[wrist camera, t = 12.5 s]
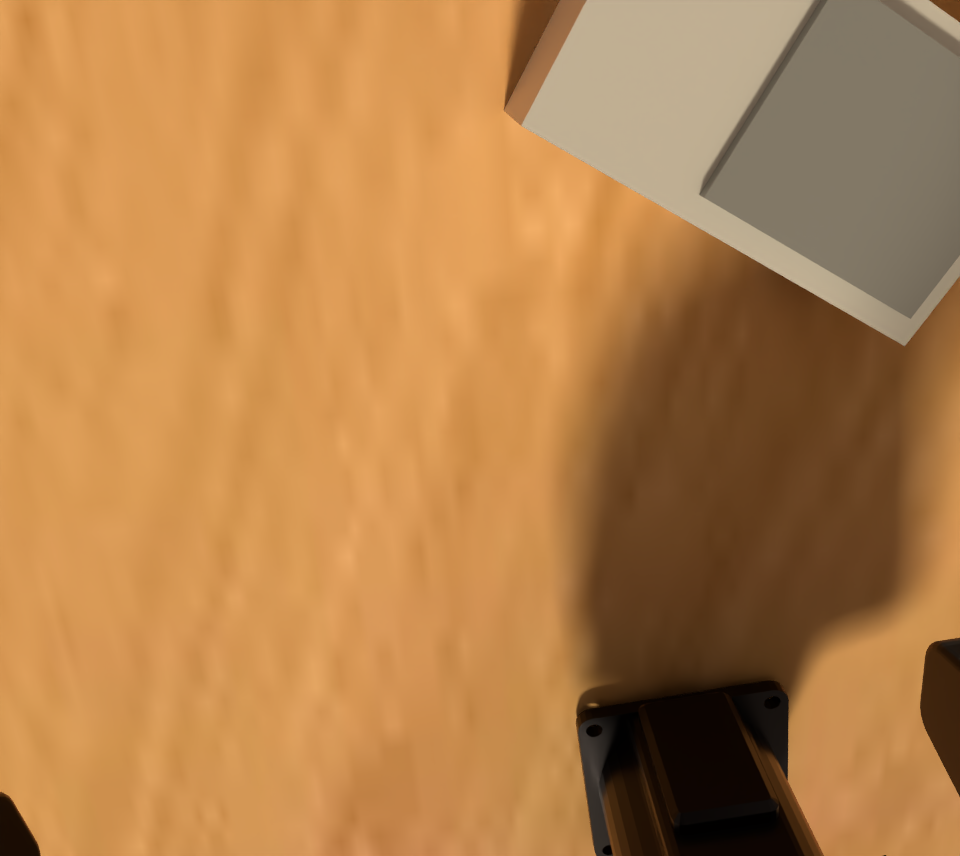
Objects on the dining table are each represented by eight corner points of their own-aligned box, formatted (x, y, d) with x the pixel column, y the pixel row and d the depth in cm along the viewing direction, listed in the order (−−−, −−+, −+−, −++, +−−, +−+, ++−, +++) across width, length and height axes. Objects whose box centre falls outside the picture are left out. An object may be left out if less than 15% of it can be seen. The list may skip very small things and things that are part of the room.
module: (624, -129, 16) (685, -185, 12) (956, 100, 18) (1098, 115, 14) (503, 109, 18) (522, 127, 14) (819, 292, 20) (913, 351, 16)
